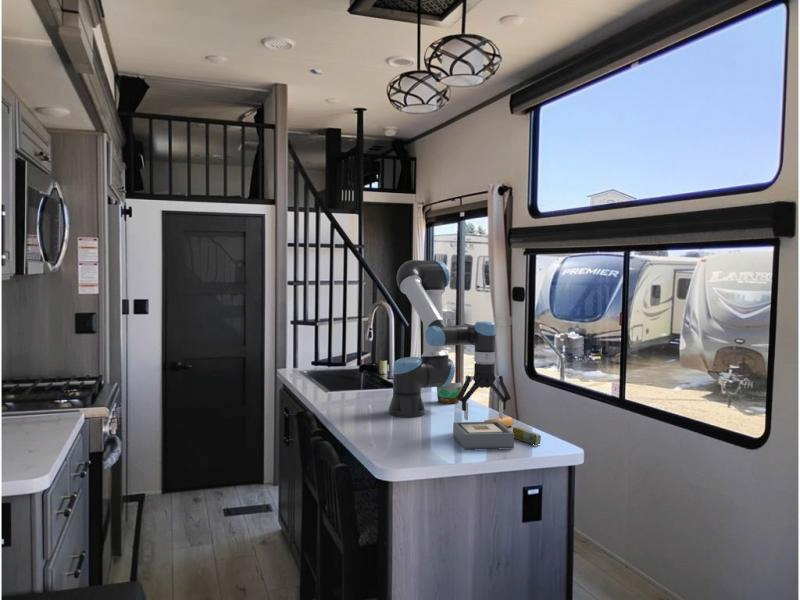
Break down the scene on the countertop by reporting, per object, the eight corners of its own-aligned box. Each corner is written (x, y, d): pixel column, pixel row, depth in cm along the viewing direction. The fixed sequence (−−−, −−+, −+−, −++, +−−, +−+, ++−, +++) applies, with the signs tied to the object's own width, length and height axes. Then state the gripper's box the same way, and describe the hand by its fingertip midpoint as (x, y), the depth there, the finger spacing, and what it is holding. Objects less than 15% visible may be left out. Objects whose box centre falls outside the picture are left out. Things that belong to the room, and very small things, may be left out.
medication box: (540, 446, 222) (541, 434, 222) (534, 446, 221) (536, 435, 221) (516, 437, 233) (518, 426, 233) (511, 437, 231) (512, 426, 231)
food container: (432, 404, 287) (432, 382, 287) (434, 401, 293) (435, 380, 292) (459, 406, 284) (460, 384, 284) (461, 403, 290) (462, 381, 290)
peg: (481, 423, 244) (504, 419, 251) (485, 432, 242) (508, 428, 249) (487, 418, 242) (510, 414, 249) (491, 427, 240) (514, 423, 247)
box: (452, 437, 231) (453, 422, 231) (498, 436, 234) (498, 421, 233) (465, 450, 214) (465, 434, 214) (513, 449, 217) (514, 433, 217)
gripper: (454, 364, 234) (453, 422, 234) (519, 363, 238) (518, 420, 238) (449, 361, 241) (448, 417, 242) (512, 361, 245) (511, 415, 246)
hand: (483, 419), depth 240 cm, fingers open, 13 cm apart
